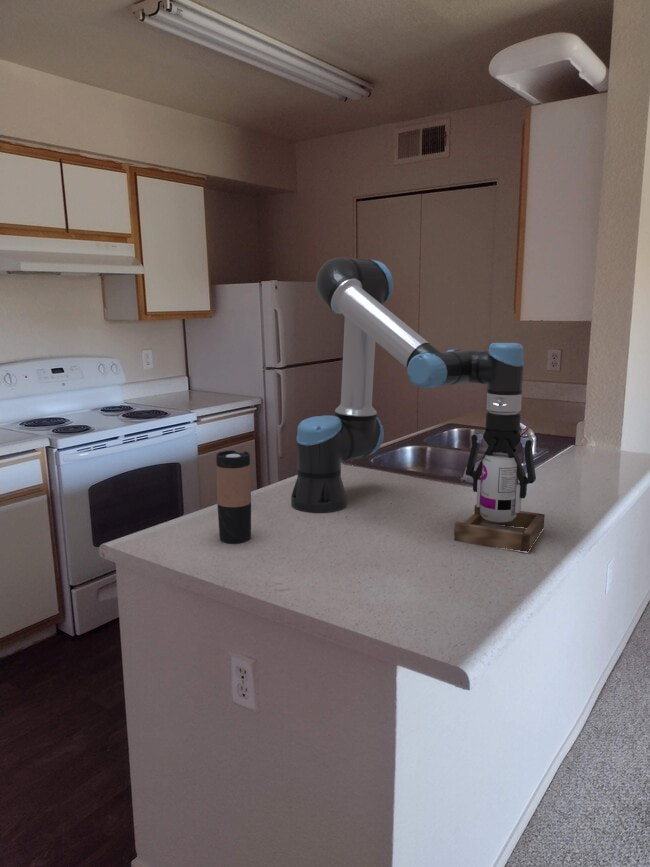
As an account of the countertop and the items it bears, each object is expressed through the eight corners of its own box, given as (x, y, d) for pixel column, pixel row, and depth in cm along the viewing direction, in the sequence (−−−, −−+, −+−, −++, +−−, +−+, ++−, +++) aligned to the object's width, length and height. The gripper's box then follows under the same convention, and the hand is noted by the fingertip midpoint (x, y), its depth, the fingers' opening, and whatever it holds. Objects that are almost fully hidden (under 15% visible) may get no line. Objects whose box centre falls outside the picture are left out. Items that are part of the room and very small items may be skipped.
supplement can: (477, 520, 148) (480, 457, 146) (482, 510, 156) (485, 449, 153) (514, 525, 145) (517, 460, 142) (517, 514, 153) (521, 452, 150)
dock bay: (454, 540, 148) (454, 523, 147) (475, 519, 162) (476, 504, 162) (527, 553, 140) (529, 536, 139) (543, 530, 155) (544, 514, 154)
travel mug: (224, 546, 144) (222, 459, 140) (214, 535, 151) (211, 452, 147) (256, 540, 148) (255, 455, 144) (245, 530, 154) (243, 448, 150)
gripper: (453, 410, 148) (449, 506, 152) (548, 418, 138) (541, 520, 142) (463, 406, 154) (459, 497, 159) (555, 413, 144) (548, 510, 148)
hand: (498, 508), depth 150 cm, fingers closed on supplement can, 8 cm apart
